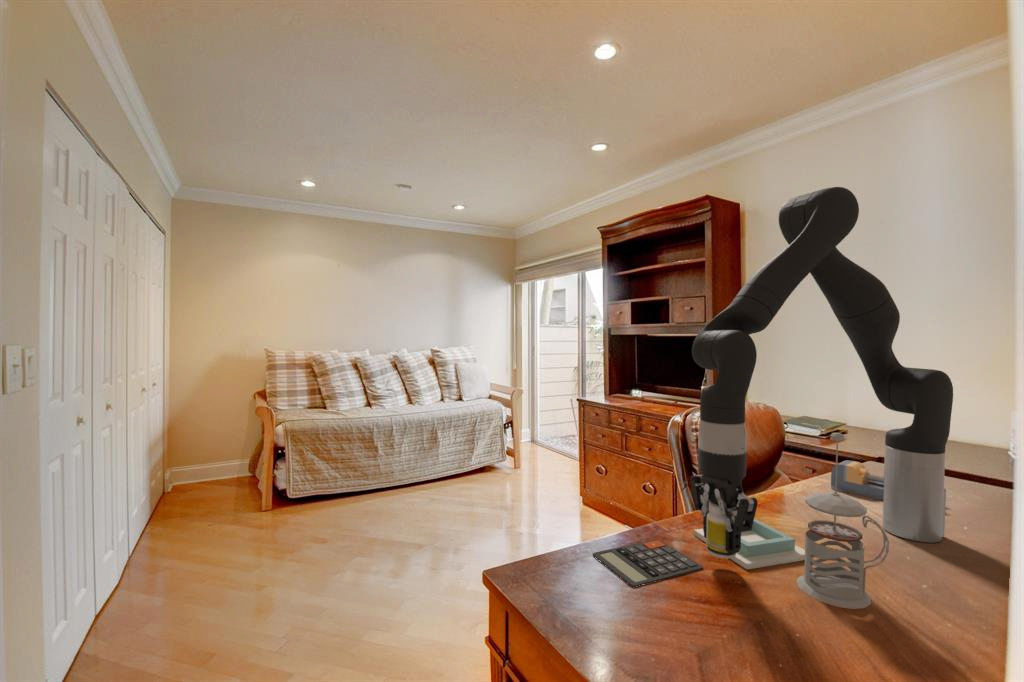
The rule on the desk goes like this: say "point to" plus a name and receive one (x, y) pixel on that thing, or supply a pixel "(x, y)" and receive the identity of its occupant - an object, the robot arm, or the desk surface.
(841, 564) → the french press
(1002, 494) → the desk surface
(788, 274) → the robot arm
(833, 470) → the vise
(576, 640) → the desk surface
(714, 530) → the supplement bottle
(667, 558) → the calculator
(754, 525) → the dock socket
